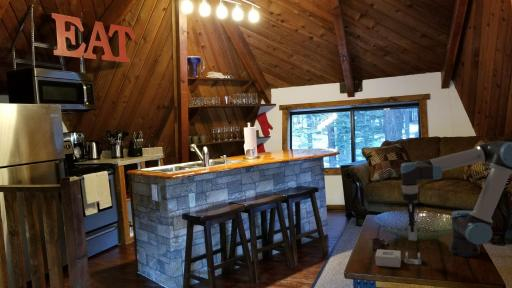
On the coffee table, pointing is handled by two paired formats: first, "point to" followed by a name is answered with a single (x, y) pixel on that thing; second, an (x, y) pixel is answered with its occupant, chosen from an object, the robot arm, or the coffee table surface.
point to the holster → (412, 261)
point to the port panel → (388, 258)
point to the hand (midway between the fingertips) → (412, 236)
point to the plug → (415, 234)
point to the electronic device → (379, 244)
